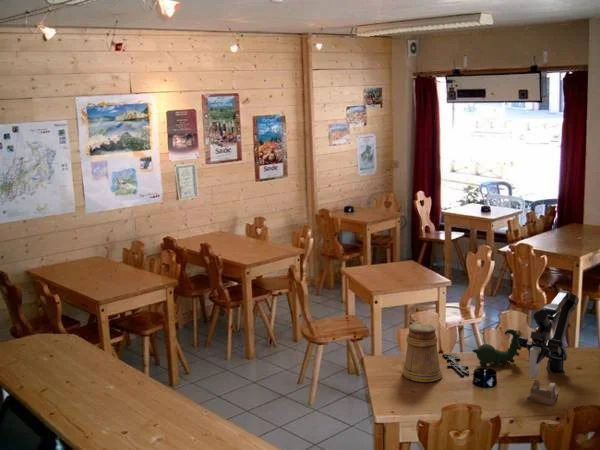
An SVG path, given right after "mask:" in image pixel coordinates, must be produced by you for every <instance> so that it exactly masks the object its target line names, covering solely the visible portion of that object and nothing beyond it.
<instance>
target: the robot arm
mask: <svg viewBox="0 0 600 450" xmlns="http://www.w3.org/2000/svg"><path fill="white" fill-rule="evenodd" d="M579 302H580V300H579V297H578V296H577V294H574V293H572V292H570V291H569V290H561V289H560V290H558V292H557V295H556V296H555V297H554V299H553V300H552V301H551V302H550V303H548V304H545V305H544V306H543V307H542V308H540V310H537V311H536V312H535V313H534V314H533V319H534V321H535V324H537V330H535V331H533V330H532V331H531V332H530V337H529V338H530V339H531V341H530V340H529V339H528V337H523V336H521V337H519V338H518V339H517V342H518V345H519V347H521V348H523V349H524V348H525V349H527V350H528V356H529V355H530V349H531V348H532V347H533V346H535V347H540V354H539V357H538V359H537V362H536V363H537V364H538V363H539V362H542V360H544V359H545V358H547V359H548V360H547V361H546V363H547V365H546V368H545V369H547V370H548V371H550V372H551V374H552V373H553V374H555V373H557V374H558V373H565V372H566V371H565V369H564V363H565V361H567V358H568V353H567V351H566V346H565V342H564V341H565V340H564V339H565V336H566V331H567V328H568V324H569V321H570V316H571V313H573V312H574V311H575V310H576V309H577V306H578V304H579ZM556 321H557V323H556V326H555V327H556V328H555V330H554V335H553V337H552V338H550V335H551V332H552V330H553V328H554V325H553V322H556ZM539 364H540V363H539Z"/></svg>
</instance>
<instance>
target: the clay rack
mask: <svg viewBox="0 0 600 450" xmlns="http://www.w3.org/2000/svg"><path fill="white" fill-rule="evenodd" d="M540 384H541V381H540V379H539V380H538V379H535V380H534V382H533V383H532V385H531V387H530V390H529V393H528V395H527V397H526V401H528V402H533V403H539V404H545V405H549V406H554V404H555V402H556V400H557V399H558V398H557V397H558V395H559V391H557V390H556V383H555V382H550V383H549V385H548V387H547V388H546V389H545V388H541V387H540V386H541V385H540Z"/></svg>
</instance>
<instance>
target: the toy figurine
mask: <svg viewBox="0 0 600 450" xmlns="http://www.w3.org/2000/svg"><path fill="white" fill-rule="evenodd" d="M507 334H510V335H511V336H512V338H511V343H510V344H509V347H508V348H507V350H505V351H503V350H499V349H496V348H495V347H494V346H493V345H492V344H489V343H484V344H481V345H480V346H478V347H477V348H476V349H475V348H474V349H472V352H473V353H474V354H476V357H477V360H479V365H480V366H481V367H483V368H485V367H487V366H488V364H494V366H495V367H499V366H500V364H501V365H503V367H507V365H508V362H510V363H511V364H513V363H515V359H514V357H519V356H520V352H518V350H521V349H522V347H520V346H519V344H518V342H517V339H518V338H519V337H522V335H521V334H520V333H518V332H516V330H515V329H513V328H510V329H507V330H506V331H505V332H504V335H507Z"/></svg>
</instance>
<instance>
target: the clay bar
mask: <svg viewBox="0 0 600 450" xmlns="http://www.w3.org/2000/svg"><path fill="white" fill-rule="evenodd" d="M540 352H541V348H540V347H535V346H533V347H532V348H531V349H530V355H529V354H528V377H530V378H534V379H536V378H537V377H538V376H539V375H540V362H541V361H540V362H539V363H538V364H537V363H536V362H537V359H538V357H539V354H540Z"/></svg>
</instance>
